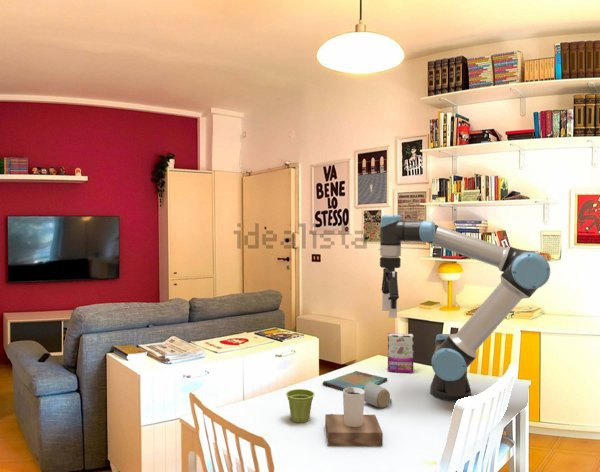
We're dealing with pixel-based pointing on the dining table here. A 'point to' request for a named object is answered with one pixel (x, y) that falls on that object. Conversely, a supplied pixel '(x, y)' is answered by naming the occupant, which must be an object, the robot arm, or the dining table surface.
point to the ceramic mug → (376, 395)
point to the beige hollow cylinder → (353, 406)
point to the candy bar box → (400, 352)
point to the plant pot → (300, 404)
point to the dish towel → (353, 381)
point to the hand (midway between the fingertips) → (389, 314)
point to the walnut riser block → (353, 431)
